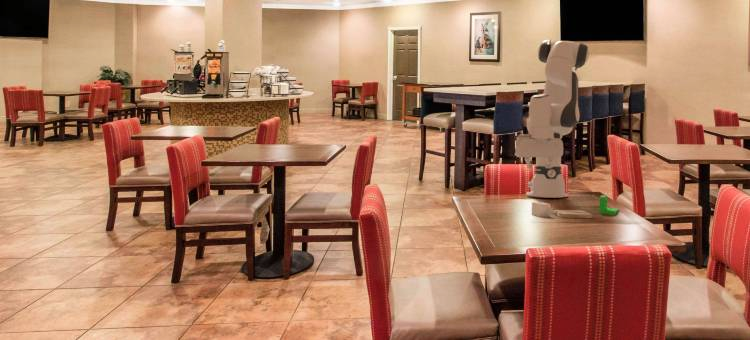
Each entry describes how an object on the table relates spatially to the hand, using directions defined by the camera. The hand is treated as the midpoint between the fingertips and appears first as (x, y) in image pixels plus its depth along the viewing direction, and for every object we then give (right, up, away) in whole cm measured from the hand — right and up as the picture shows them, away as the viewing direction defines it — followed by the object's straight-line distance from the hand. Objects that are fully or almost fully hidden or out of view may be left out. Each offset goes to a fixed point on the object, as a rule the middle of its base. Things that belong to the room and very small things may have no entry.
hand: (538, 168), depth 250 cm
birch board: (+13, -19, 0) cm, 23 cm away
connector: (+1, -19, -1) cm, 19 cm away
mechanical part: (+32, -19, +8) cm, 38 cm away
